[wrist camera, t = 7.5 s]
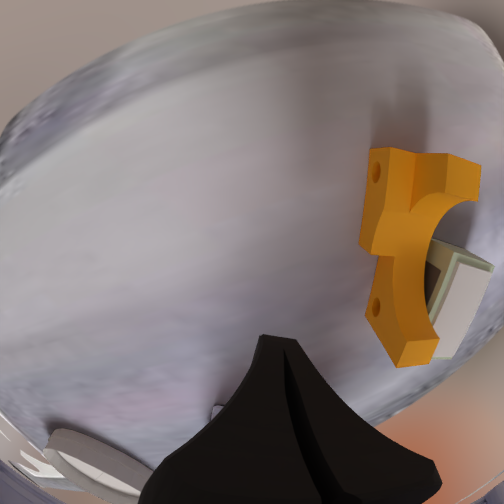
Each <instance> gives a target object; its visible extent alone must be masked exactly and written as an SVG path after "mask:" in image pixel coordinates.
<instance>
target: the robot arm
mask: <svg viewBox="0 0 504 504" xmlns="http://www.w3.org/2000/svg"><path fill="white" fill-rule="evenodd" d="M441 485H442V480H441V478H440V475H439V473H438V471H437V469H436V466H435V464H434V462H433V460H431V459H428V458H426V457H424V456H422V455H419V454H417V453H415V452H413V451H411V450H408V449H407V448H405V447H403V446H401V445H399V444H398V443H396V442H394V441H392V440H391V439H389V438H388V437H386V436H385V435H383V434H382V433H380V432H379V431H377V430H376V429H375V428H374V427H372V426H371V425H370V424H368V423H367V422H366V421H364V420H363V419H362V418H361V417H360V416H358V415H357V414H356V413H355V412H354V411H353V410H352V409H351V408H350V407H349V406H348V405H347V404H346V403H345V402H344V401H343V400H342V399H341V398H340V397H339V396H338V395H337V394H336V393H335V392H334V390H333V389H332V388H331V387H330V386H329V385H328V383H327V382H326V381H325V380H324V378H323V377H322V376H321V375H320V373H319V372H318V371H317V369H316V368H315V367H314V365H313V364H312V362H311V361H310V359H309V358H308V357H307V355H306V354H305V352H304V351H303V349H302V348H301V346H300V345H299V343H298V342H297V340H296V339H289V338H283V337H277V336H271V335H265V334H263V335H261V336H259V339H258V343H257V346H256V350H255V354H254V357H253V361H252V364H251V367H250V369H249V371H248V373H247V374H246V376H245V378H244V379H243V381H242V383H241V384H240V386H239V387H238V389H237V390H236V392H235V393H234V394H233V396H232V397H231V398H230V400H229V401H228V402H227V403H226V405H225V406H219V405H217V406H214V407H213V411H212V416H211V421H210V422H209V423H208V424H207V425H206V426H205V427H204V428H203V429H202V430H200V431H199V432H198V433H197V434H196V435H195V436H194V437H193V438H191V439H190V440H189V441H188V442H186V443H185V444H184V445H182V446H181V447H180V448H178V449H177V450H175V451H174V452H173V453H171V454H170V455H168V456H167V457H166V458H164V460H163V461H162V462H161V464H160V465H159V466H158V467H157V469H156V470H155V471H154V472H153V474H152V475H151V476H150V477H149V479H148V480H147V482H146V483H145V485H144V487H143V489H142V491H141V494H140V497H139V500H138V504H422V503H423V502H425V501H426V500H428V499H429V498H430V497H432V496H433V495H434V494H436V492H437V491H438V490H439V489H440V488H441ZM0 504H66V503H64V502H62V501H60V500H58V499H57V498H55V497H53V496H51V495H50V494H48V493H47V492H45V491H43V490H42V489H40V488H39V487H37V486H35V485H34V484H33V483H31V482H30V481H28V480H27V479H25V478H23V477H22V476H21V475H20V474H18V473H17V472H16V471H14V470H13V469H12V468H10V467H9V466H8V465H6V464H5V463H4V462H3V461H1V460H0ZM471 504H504V481H502V482H501V483H499V484H498V485H497V486H495V487H494V488H493V489H492V490H490V491H489V492H488V493H487V494H486V495H485V496H483V497H481V498H480V499H478V500H476V501H475V502H473V503H471Z"/></svg>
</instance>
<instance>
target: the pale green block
mask: <svg viewBox="0 0 504 504" xmlns="http://www.w3.org/2000/svg"><path fill="white" fill-rule="evenodd" d="M494 267H495V266H494V265H492V264H491V263H489V262H487V261H485V260H484V259H482V258H480V257H478V256H476V255H475V254H473V253H471V252H469V251H467V250H465V249H463V248H460V247H457V246H454V245H451V244H448V243H445V242H442V241H439V240H436V239H433V238H431V241H430V244H429V247H428V251H427V256H426V261H425V270H424V295H425V303H426V308H427V312H428V316H429V319H430V322H431V324H432V326H433V328H434V330H435V332H436V334H437V335H438V336H439V338H440V340H439V343H438V345H437V347H436V349H435V352H434V354H433V356H432V358H431V359H452V357H453V356H454V354H455V352H456V351H457V349H458V347H459V345H460V343H461V342H462V340H463V338H464V336H465V334H466V332H467V330H468V328H469V326H470V324H471V322H472V320H473V318H474V316H475V314H476V312H477V309H478V307H479V305H480V303H481V300H482V298H483V296H484V293H485V291H486V288H487V286H488V283H489V281H490V278H491V275H492V272H493V269H494Z"/></svg>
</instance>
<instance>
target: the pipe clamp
mask: <svg viewBox="0 0 504 504" xmlns="http://www.w3.org/2000/svg"><path fill="white" fill-rule="evenodd" d="M480 177H481V165H479V164H476V163H473V162H471V161H468V160H465V159H463V158H460V157H457V156H454V155H451V154H448V153H413V152H409V151H405V150H401V149H397V148H393V147H384V148H374V149H370V153H369V165H368V176H367V186H366V194H365V203H364V210H363V218H362V225H361V231H360V237H359V245H360V246H361V247H362V248H364V249H365V250H366V251H367V252H368V253H369V254H370V255H379V258H378V263H377V267H376V272H375V276H374V281H373V285H372V289H371V293H370V298H369V301H368V305H367V309H366V313H365V317H366V318H367V320H368V322H369V323H370V325H371V326H372V328H373V330H374V331H375V333H376V335H377V336H378V338H379V340H380V341H381V343H382V345H383V346H384V348H385V350H386V351H387V353H388V355H389V356H390V358H391V360H392V362H393V363H394V365H395V367H396V368H401V367H409V366H417V365H425V364H429V363H430V360H431V358H432V356H433V354H434V352H435V349H436V347H437V345H438V343H439V340H440V338H439V336H438V335H437V334H436V332H435V330H434V328H433V326H432V324H431V322H430V319H429V316H428V312H427V308H426V303H425V295H424V270H425V261H426V256H427V251H428V247H429V244H430V241H431V238H432V235H433V233H434V230H435V228H436V226H437V224H438V223H439V221H440V220H441V218H442V217H443V216H444V214H445V213H446V212H447V211H448V210H449V209H450V208H452V207H453V206H454V205H456V204H458V203H461V202H464V201H477V202H478V196H479V188H480Z"/></svg>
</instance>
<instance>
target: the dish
mask: <svg viewBox="0 0 504 504" xmlns="http://www.w3.org/2000/svg"><path fill="white" fill-rule="evenodd" d="M48 441H49V442H48V444H47V445H46V447H45V448H44V450H43V453H44V456H45V457H46V459H47V460H48V462H49V463H50V464H51V465H52V466H53V467H54V468H55V469H56V470H57V471H58V472H60V473H61V474H62V475H63V476H64V477H66V478H67V479H68V480H70V481H71V482H73V483H74V484H75V485H77V486H79V487H80V488H82V489H84V490H85V491H87V492H89V493H91V494H92V495H94V496H96V497H98V498H101V499H103V500H105V501H107V502H110V503H112V504H138V500H139V497H140V494H141V491H142V489H143V487H144V485H145V483H146V482H147V480H148V479H149V477H150V476H151V475H152V474H153V471H152V470H150V469H149V468H147V467H146V466H144V465H143V464H141V463H140V462H138V461H136V460H135V459H133V458H131V457H129V456H128V455H126V454H124V453H122V452H120V451H118V450H116V449H114V448H112V447H111V446H109V445H107V444H105V443H103V442H100V441H98V440H96V439H94V438H91V437H89V436H87V435H84V434H81V433H79V432H76V431H73V430H68V429H63V428H60V429H55V430H54V432H53V433H52V435H51V436H50V438H49V439H48ZM73 470H74V471H73Z"/></svg>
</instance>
